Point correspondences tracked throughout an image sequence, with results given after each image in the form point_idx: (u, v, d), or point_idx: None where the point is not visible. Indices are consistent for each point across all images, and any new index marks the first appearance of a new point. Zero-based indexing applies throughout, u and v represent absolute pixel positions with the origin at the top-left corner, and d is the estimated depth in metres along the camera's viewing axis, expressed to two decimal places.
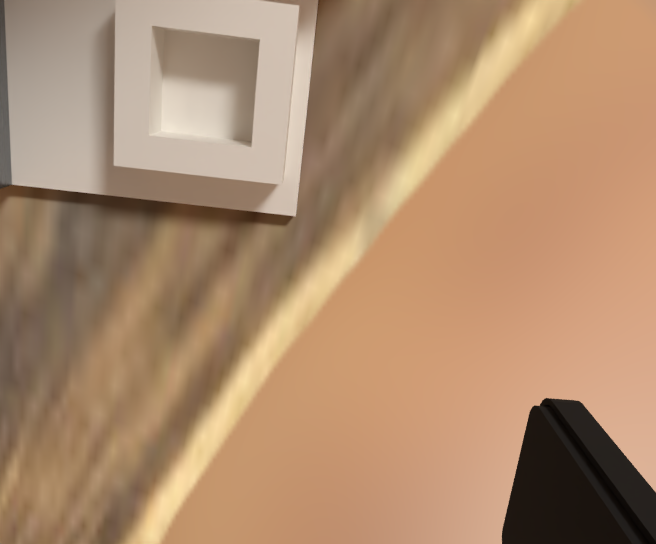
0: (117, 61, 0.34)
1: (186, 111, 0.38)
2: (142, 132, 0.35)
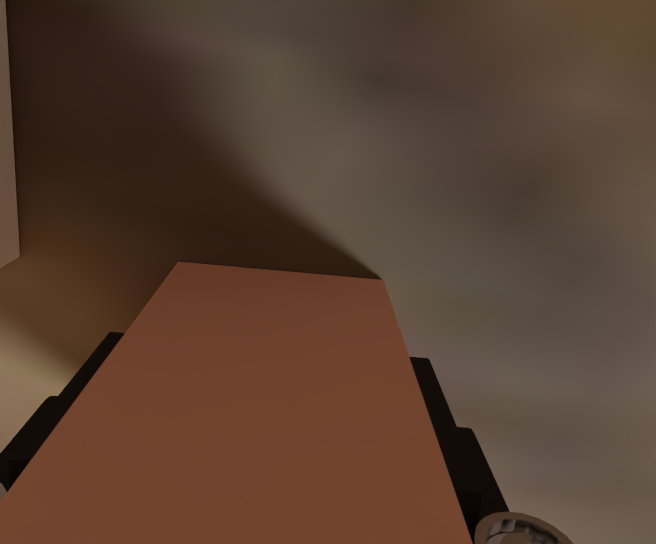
0: None
1: None
2: None
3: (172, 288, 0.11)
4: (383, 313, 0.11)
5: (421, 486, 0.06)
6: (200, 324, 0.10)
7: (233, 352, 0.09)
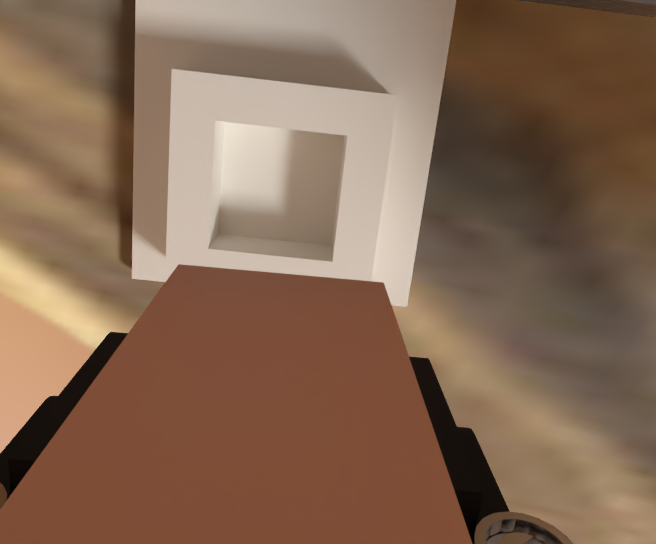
0: (305, 88, 0.27)
1: (250, 150, 0.30)
2: (218, 112, 0.27)
3: (172, 290, 0.11)
4: (384, 316, 0.11)
5: (422, 491, 0.06)
6: (200, 327, 0.10)
7: (234, 357, 0.09)
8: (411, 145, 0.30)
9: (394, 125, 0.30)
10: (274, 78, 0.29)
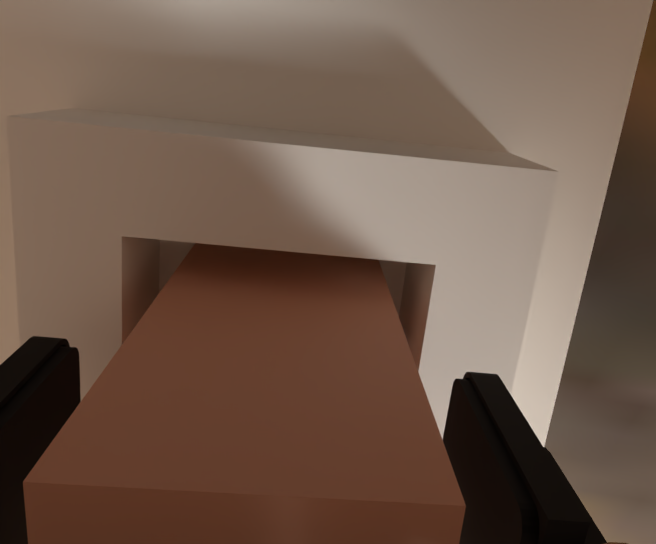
0: (337, 157, 0.11)
1: None
2: (128, 218, 0.11)
3: (192, 263, 0.13)
4: (376, 281, 0.13)
5: (402, 399, 0.08)
6: (219, 289, 0.11)
7: (249, 311, 0.11)
8: (546, 254, 0.15)
9: None
10: (263, 123, 0.14)
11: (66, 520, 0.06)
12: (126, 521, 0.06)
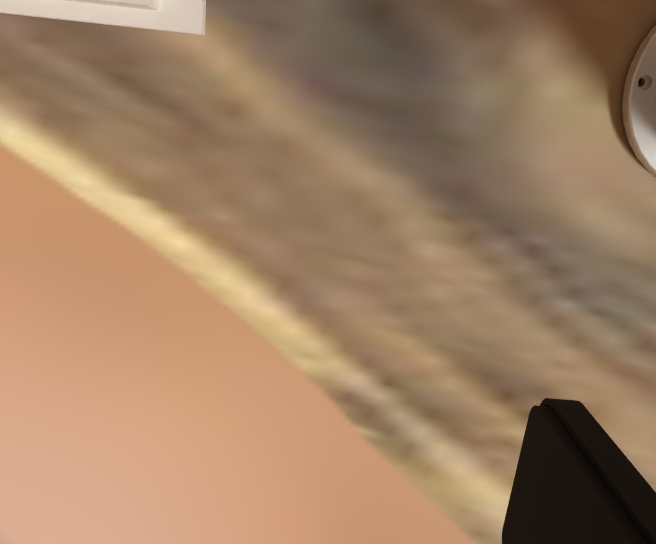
0: None
1: None
2: None
3: None
4: None
5: None
6: None
7: None
8: None
9: None
10: None
11: None
12: None
